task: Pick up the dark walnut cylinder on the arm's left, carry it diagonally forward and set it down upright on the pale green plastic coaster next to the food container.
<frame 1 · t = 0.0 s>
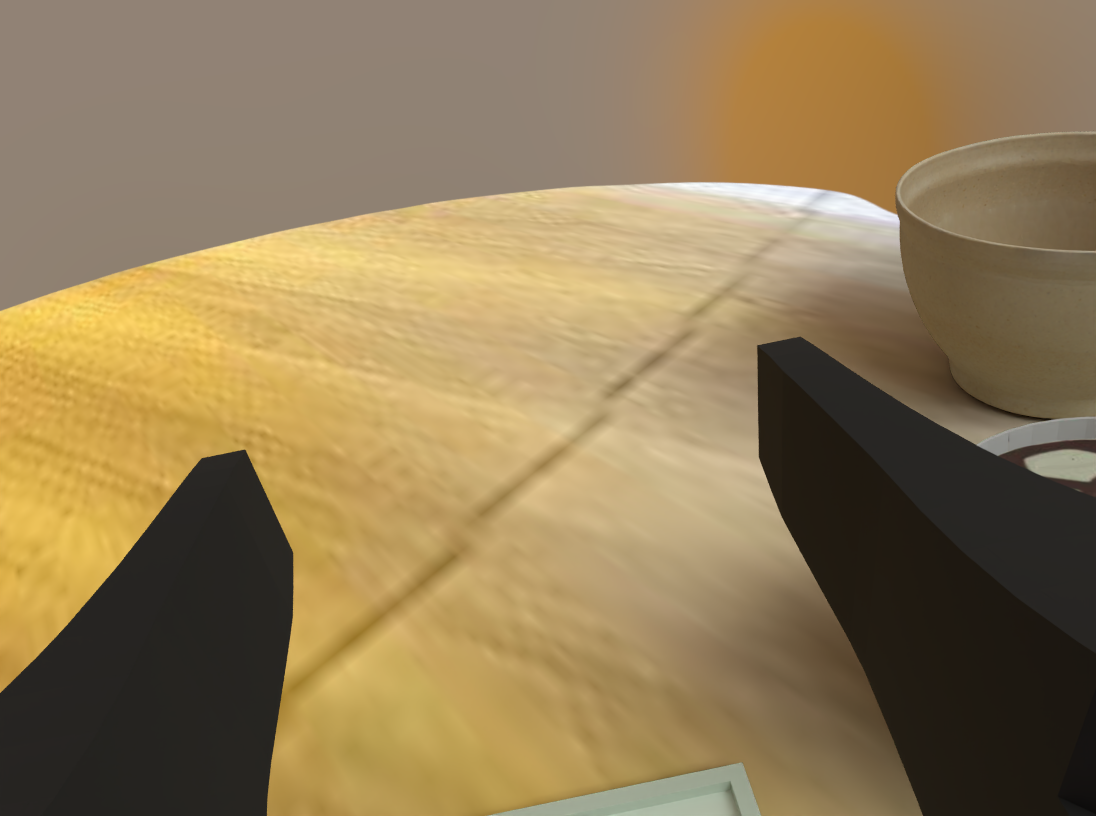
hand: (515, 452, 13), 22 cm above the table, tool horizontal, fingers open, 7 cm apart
food container: (991, 730, 32), on the table
planter bowl: (1045, 377, 49), on the table
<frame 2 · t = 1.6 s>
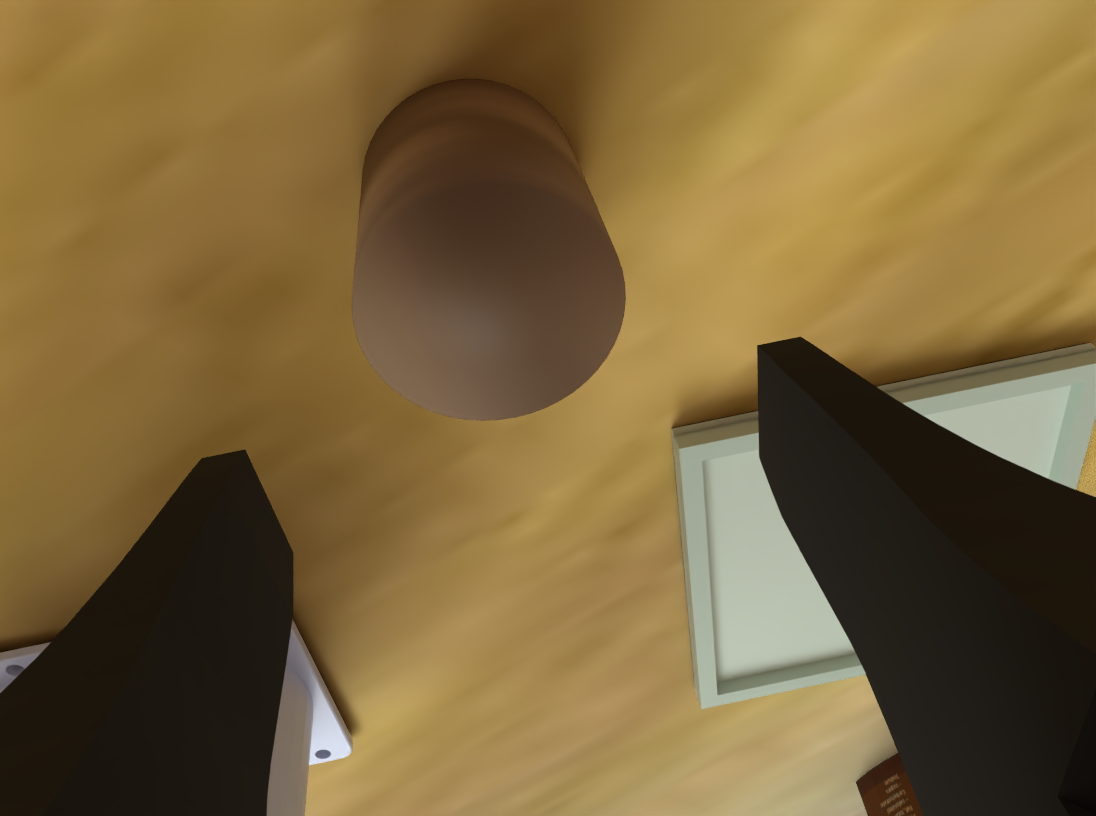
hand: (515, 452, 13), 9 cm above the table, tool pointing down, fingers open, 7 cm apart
walnut cylinder: (471, 188, 20), on the table
coaster: (868, 536, 29), on the table
food container: (983, 752, 38), on the table
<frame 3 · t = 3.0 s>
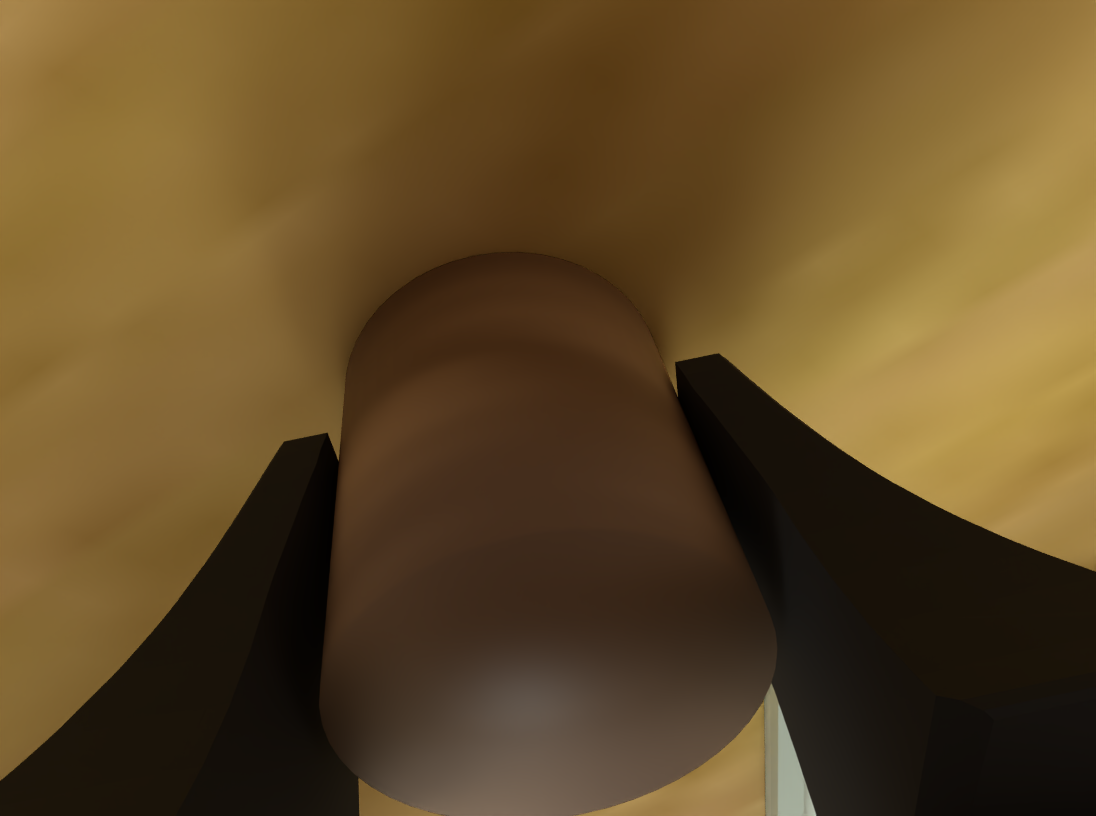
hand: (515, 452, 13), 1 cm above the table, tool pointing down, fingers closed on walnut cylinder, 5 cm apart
walnut cylinder: (505, 394, 14), on the table, touching gripper
coaster: (1001, 762, 22), on the table
when the fingers open (3 cm above the table, at t = 6.6 s): walnut cylinder stays where it is, resting on coaster.
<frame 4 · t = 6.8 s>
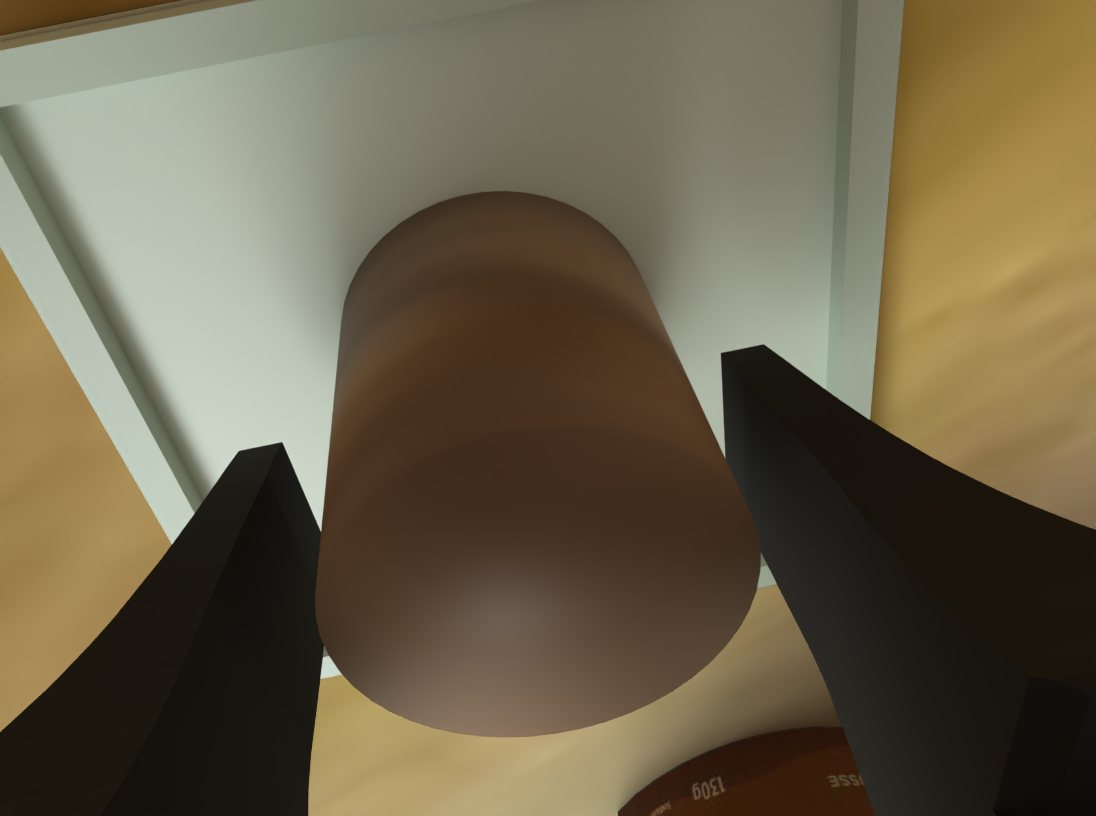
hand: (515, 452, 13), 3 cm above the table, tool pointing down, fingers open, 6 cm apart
walnut cylinder: (498, 336, 14), resting on coaster
coaster: (498, 353, 15), on the table
food container: (822, 765, 24), on the table
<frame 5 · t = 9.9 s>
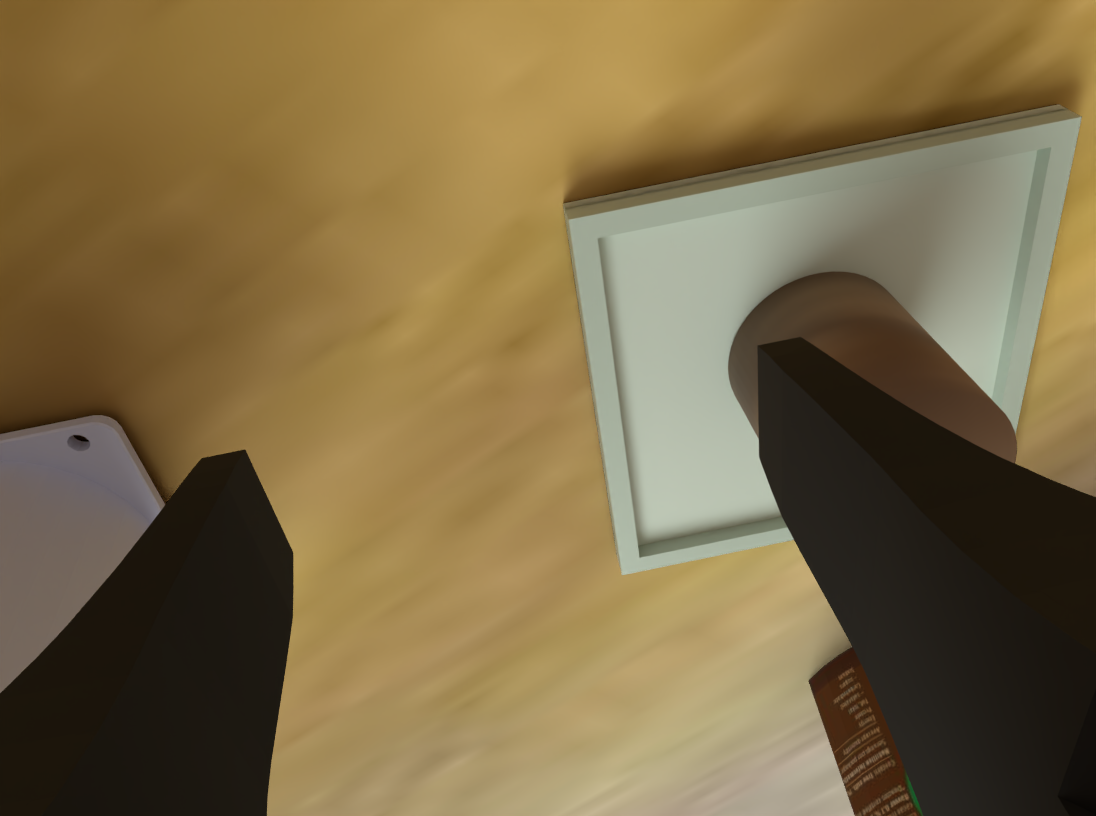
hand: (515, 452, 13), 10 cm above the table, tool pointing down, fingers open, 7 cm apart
walnut cylinder: (815, 352, 24), resting on coaster
coaster: (806, 361, 25), on the table
food container: (950, 648, 34), on the table
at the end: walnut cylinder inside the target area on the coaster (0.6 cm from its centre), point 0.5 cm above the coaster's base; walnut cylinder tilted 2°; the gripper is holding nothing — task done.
